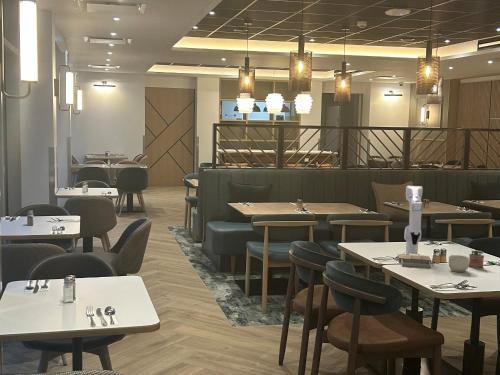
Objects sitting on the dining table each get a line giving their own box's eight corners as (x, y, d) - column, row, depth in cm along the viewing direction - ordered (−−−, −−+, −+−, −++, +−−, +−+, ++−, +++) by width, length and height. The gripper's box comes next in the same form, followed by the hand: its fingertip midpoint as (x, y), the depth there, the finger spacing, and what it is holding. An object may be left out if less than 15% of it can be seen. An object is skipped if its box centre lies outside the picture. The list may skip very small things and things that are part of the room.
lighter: (467, 267, 346) (469, 250, 345) (468, 266, 349) (470, 249, 348) (482, 269, 342) (484, 251, 341) (483, 268, 345) (484, 250, 344)
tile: (409, 256, 356) (409, 253, 356) (419, 257, 355) (419, 254, 355) (409, 258, 352) (409, 255, 351) (420, 259, 350) (420, 255, 350)
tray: (400, 262, 352) (401, 259, 351) (429, 264, 349) (429, 261, 348) (401, 266, 342) (402, 262, 342) (431, 268, 339) (431, 264, 339)
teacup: (470, 273, 330) (472, 259, 329) (451, 272, 330) (452, 258, 329) (462, 267, 344) (463, 254, 343) (443, 267, 344) (444, 253, 343)
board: (397, 257, 364) (398, 253, 364) (428, 260, 361) (428, 256, 361) (399, 262, 352) (399, 258, 352) (430, 264, 349) (431, 260, 348)
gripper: (408, 219, 366) (406, 241, 367) (409, 223, 352) (408, 246, 353) (420, 220, 365) (418, 242, 366) (422, 224, 351) (420, 247, 352)
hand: (414, 244), depth 360 cm, fingers closed
